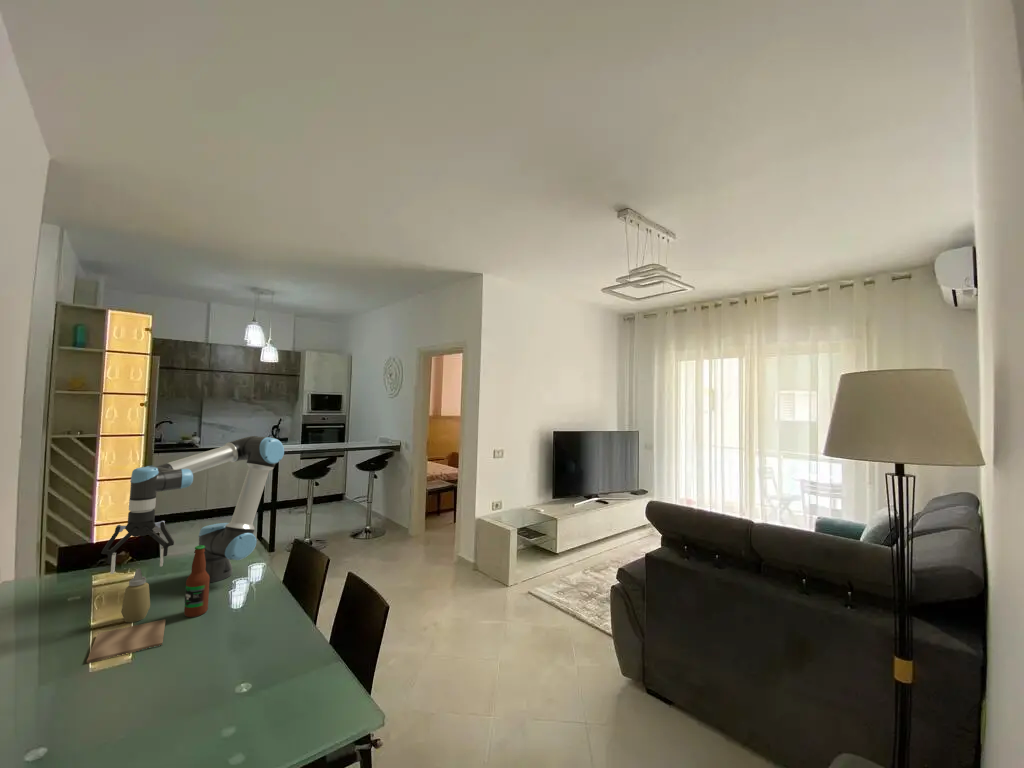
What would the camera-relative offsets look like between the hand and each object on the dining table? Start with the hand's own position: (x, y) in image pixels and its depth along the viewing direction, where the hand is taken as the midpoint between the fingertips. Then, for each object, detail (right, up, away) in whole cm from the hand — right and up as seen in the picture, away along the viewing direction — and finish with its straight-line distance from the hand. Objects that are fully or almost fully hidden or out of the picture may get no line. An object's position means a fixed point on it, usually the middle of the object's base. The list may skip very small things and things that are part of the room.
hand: (137, 568), depth 160 cm
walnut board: (+9, -18, -14) cm, 25 cm away
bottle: (+18, -19, +5) cm, 27 cm away
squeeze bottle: (-1, -18, 0) cm, 18 cm away
